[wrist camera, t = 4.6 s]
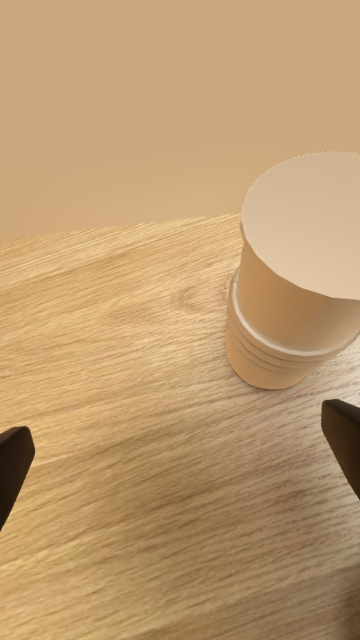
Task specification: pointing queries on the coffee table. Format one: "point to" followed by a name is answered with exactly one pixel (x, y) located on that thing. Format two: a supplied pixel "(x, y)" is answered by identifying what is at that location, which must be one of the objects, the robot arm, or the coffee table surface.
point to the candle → (296, 270)
